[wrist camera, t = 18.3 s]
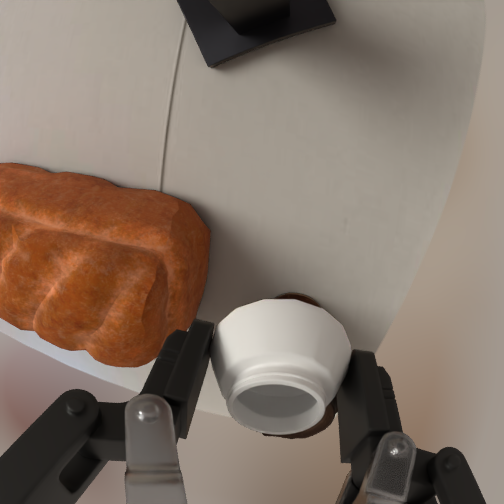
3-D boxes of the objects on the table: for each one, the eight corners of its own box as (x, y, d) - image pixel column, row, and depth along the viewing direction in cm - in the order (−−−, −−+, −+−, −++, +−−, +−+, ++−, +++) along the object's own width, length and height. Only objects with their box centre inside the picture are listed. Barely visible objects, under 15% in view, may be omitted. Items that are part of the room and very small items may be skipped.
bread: (-10, 155, 29) (-88, 189, 17) (222, 202, 29) (174, 276, 17) (0, 260, 36) (-58, 309, 25) (198, 330, 36) (164, 422, 24)
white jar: (189, 343, 12) (281, 403, 13) (167, 401, 10) (277, 459, 11) (279, 263, 10) (374, 345, 11) (273, 324, 7) (388, 406, 9)
